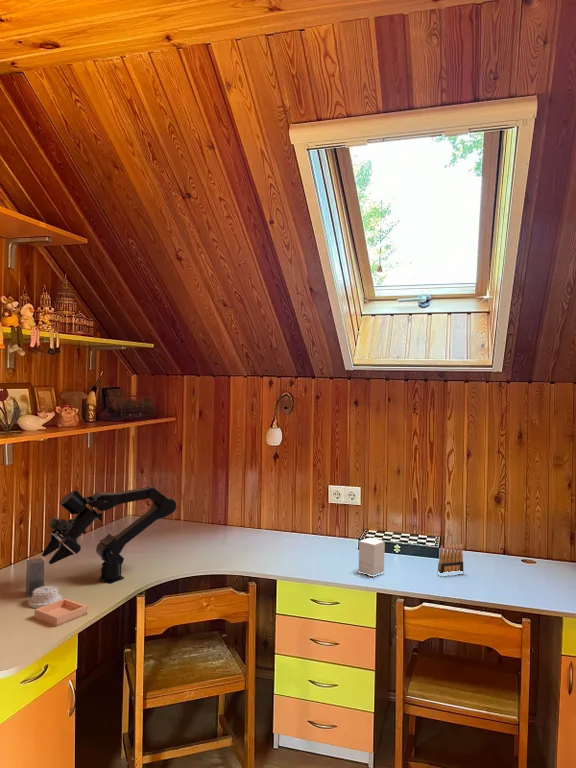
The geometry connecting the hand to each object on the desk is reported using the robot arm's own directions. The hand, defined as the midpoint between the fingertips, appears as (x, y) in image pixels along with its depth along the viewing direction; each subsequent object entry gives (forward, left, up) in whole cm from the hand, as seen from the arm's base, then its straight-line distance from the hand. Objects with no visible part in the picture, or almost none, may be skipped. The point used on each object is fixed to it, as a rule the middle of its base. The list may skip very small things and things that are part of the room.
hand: (46, 559), depth 187 cm
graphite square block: (+3, -1, -11) cm, 11 cm away
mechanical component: (+5, +8, -11) cm, 15 cm away
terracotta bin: (+9, +21, -11) cm, 25 cm away
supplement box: (-84, +82, -11) cm, 118 cm away
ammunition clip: (-101, +108, -11) cm, 148 cm away
